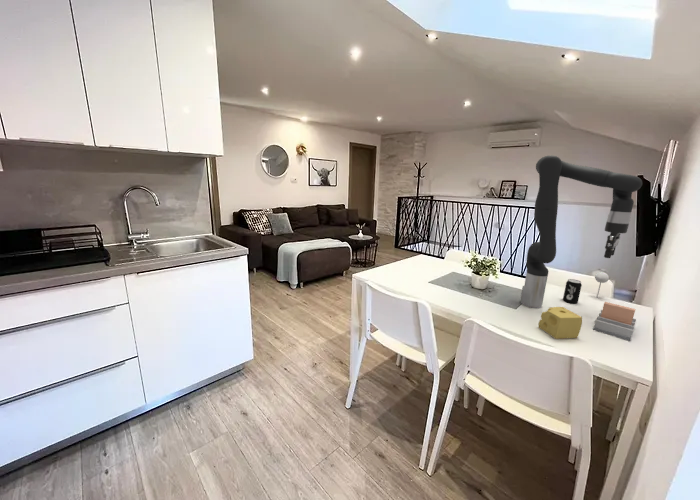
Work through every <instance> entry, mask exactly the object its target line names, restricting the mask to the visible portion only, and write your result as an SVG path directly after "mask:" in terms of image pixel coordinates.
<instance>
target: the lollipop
mask: <svg viewBox="0 0 700 500" xmlns="http://www.w3.org/2000/svg"><path fill="white" fill-rule="evenodd" d="M594 280H595V281H596V282H598V283H599V285H598V290H597V294H596V299H598V298H599V294H600V293H599V292H600V288H601V284H604V283H605V284H606V283H607V282H608V281H609V280H610V276H609V274H608V273H606V272H603V271H602V272H601V271H600V272H597V273H596V274H595V275H594Z"/></svg>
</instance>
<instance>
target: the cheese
mask: <svg viewBox="0 0 700 500" xmlns="http://www.w3.org/2000/svg"><path fill="white" fill-rule="evenodd" d="M582 324H583V318H582V316H580V315H579V314H577V313H575V312H573V311H571V310H569V309H567V308H565V307H564V306H552V307H549V308H548V309H547V310H546V311H542V312H541V314H540V320H539V321H538V328H539V329H541V330H542V331H544V332H546V334H548V335H549V336H551V337H552V338H554V339H555V340H559V339H560V340H561V339H577V338H579V335H580V333H581V328H582Z"/></svg>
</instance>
